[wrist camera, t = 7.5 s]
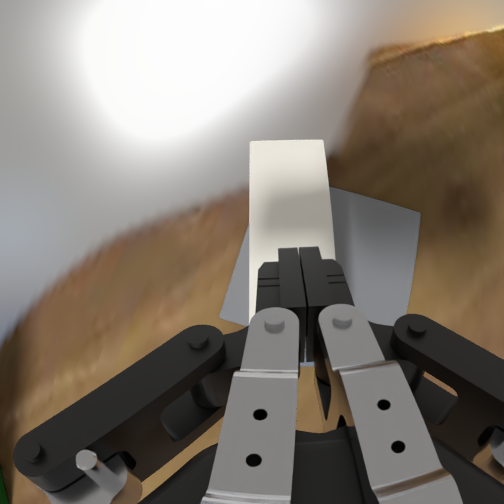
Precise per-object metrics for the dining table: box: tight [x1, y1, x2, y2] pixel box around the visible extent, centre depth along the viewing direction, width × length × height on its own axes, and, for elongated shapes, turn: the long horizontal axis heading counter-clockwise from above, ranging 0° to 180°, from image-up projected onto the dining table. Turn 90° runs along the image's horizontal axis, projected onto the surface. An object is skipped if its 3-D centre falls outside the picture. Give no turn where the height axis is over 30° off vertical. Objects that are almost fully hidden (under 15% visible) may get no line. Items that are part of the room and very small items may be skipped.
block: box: [249, 140, 335, 367], centre depth 19 cm, size 4×4×13 cm
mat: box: [219, 187, 421, 326], centre depth 21 cm, size 11×12×1 cm
